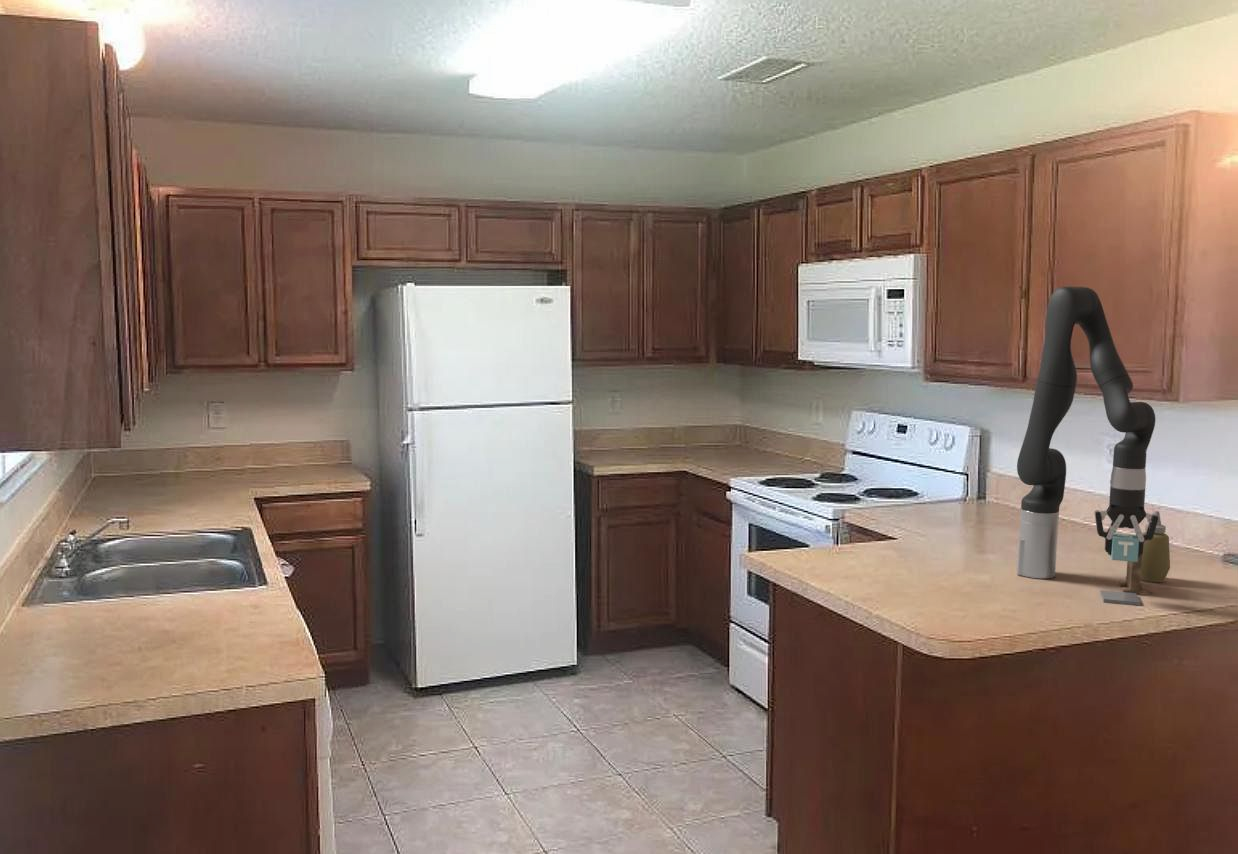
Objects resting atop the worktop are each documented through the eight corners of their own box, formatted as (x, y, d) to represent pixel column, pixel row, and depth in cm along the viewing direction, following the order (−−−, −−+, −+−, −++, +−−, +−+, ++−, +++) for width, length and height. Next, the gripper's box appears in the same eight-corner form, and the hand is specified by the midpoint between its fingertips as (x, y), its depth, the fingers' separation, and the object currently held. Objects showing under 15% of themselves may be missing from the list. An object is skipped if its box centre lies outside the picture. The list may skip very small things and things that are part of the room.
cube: (1112, 560, 247) (1113, 536, 246) (1109, 554, 252) (1110, 531, 251) (1137, 562, 245) (1139, 538, 244) (1134, 556, 250) (1135, 533, 250)
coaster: (1103, 602, 248) (1103, 598, 248) (1099, 593, 255) (1100, 590, 255) (1140, 605, 245) (1140, 602, 245) (1135, 596, 253) (1135, 593, 253)
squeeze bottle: (1158, 575, 272) (1163, 508, 269) (1175, 584, 264) (1181, 514, 261) (1127, 575, 271) (1132, 508, 269) (1144, 584, 263) (1149, 514, 261)
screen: (1123, 593, 255) (1126, 545, 254) (1119, 584, 263) (1122, 538, 261) (1145, 595, 254) (1149, 547, 252) (1141, 586, 261) (1144, 540, 260)
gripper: (1096, 486, 245) (1092, 556, 247) (1164, 490, 241) (1159, 561, 243) (1093, 481, 252) (1089, 549, 254) (1158, 485, 248) (1154, 554, 250)
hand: (1123, 554), depth 249 cm, fingers closed on cube, 5 cm apart
